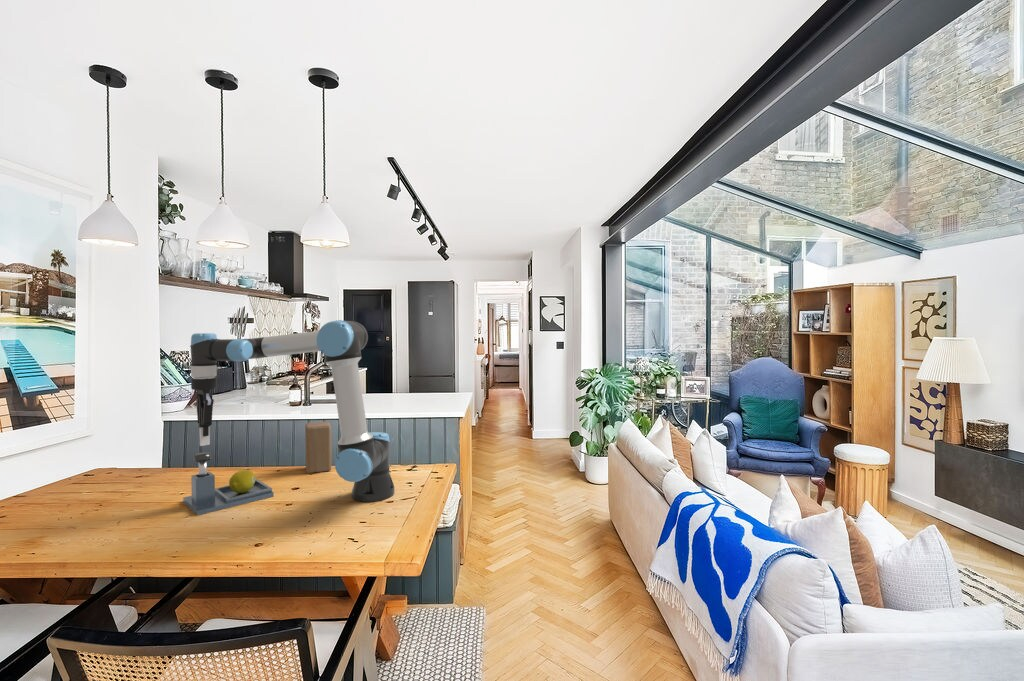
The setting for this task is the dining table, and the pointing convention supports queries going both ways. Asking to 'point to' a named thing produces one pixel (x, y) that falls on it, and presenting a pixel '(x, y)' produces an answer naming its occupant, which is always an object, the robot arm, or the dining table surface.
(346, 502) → the dining table surface
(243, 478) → the lemon
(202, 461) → the ball
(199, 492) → the base
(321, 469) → the wooden block
